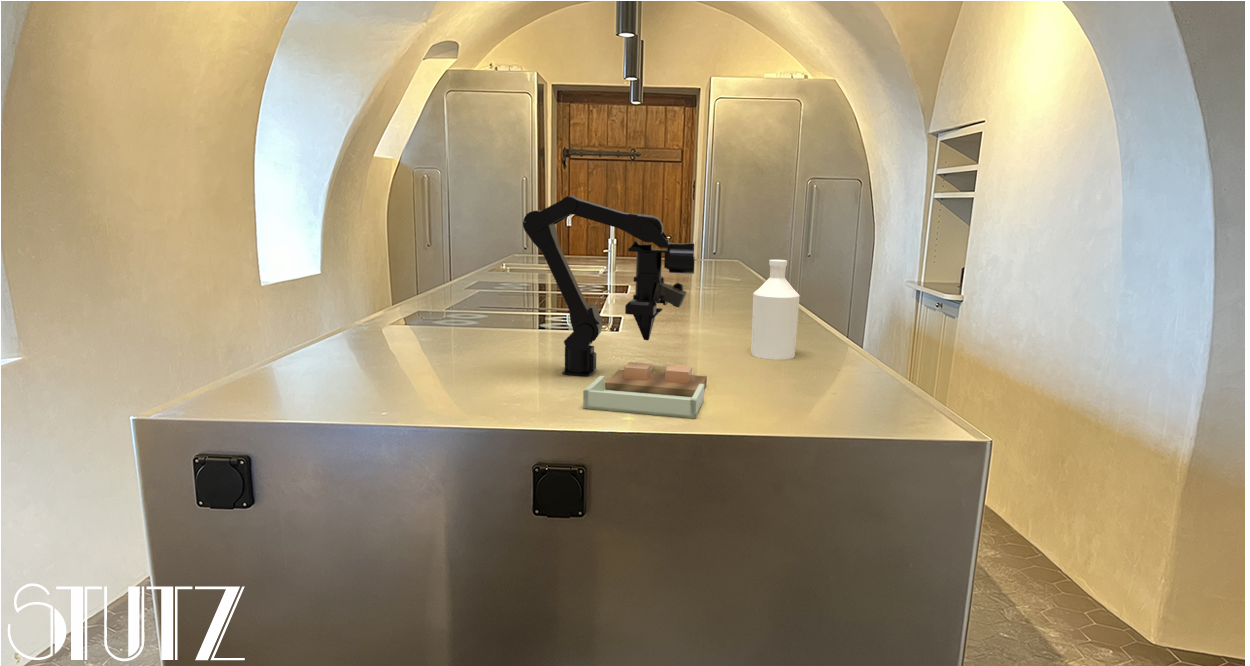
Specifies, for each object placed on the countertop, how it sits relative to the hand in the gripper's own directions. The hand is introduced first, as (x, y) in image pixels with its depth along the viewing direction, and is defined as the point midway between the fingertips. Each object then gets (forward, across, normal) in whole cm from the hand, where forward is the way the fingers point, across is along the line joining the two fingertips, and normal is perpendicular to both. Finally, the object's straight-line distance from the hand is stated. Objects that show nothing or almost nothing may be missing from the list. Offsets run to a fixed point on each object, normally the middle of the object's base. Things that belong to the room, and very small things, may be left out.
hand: (646, 340), depth 166 cm
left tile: (+6, -9, 0) cm, 11 cm away
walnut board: (+8, -10, -5) cm, 14 cm away
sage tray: (+8, -22, -5) cm, 24 cm away
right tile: (+6, -9, -9) cm, 14 cm away
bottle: (+8, +32, -28) cm, 43 cm away
